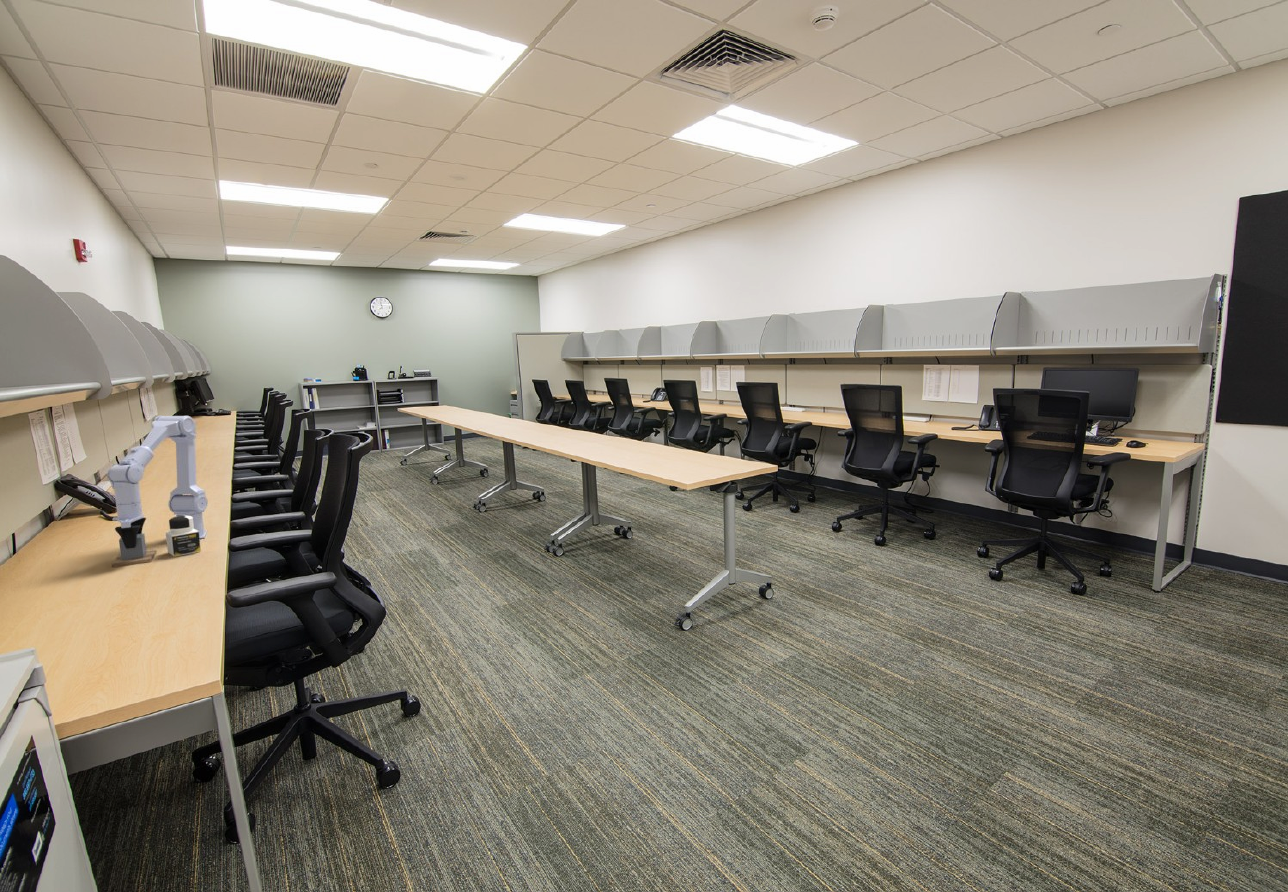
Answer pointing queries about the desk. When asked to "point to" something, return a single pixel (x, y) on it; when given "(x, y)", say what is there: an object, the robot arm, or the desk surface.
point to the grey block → (133, 549)
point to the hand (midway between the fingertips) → (133, 544)
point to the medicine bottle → (182, 536)
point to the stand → (147, 558)
